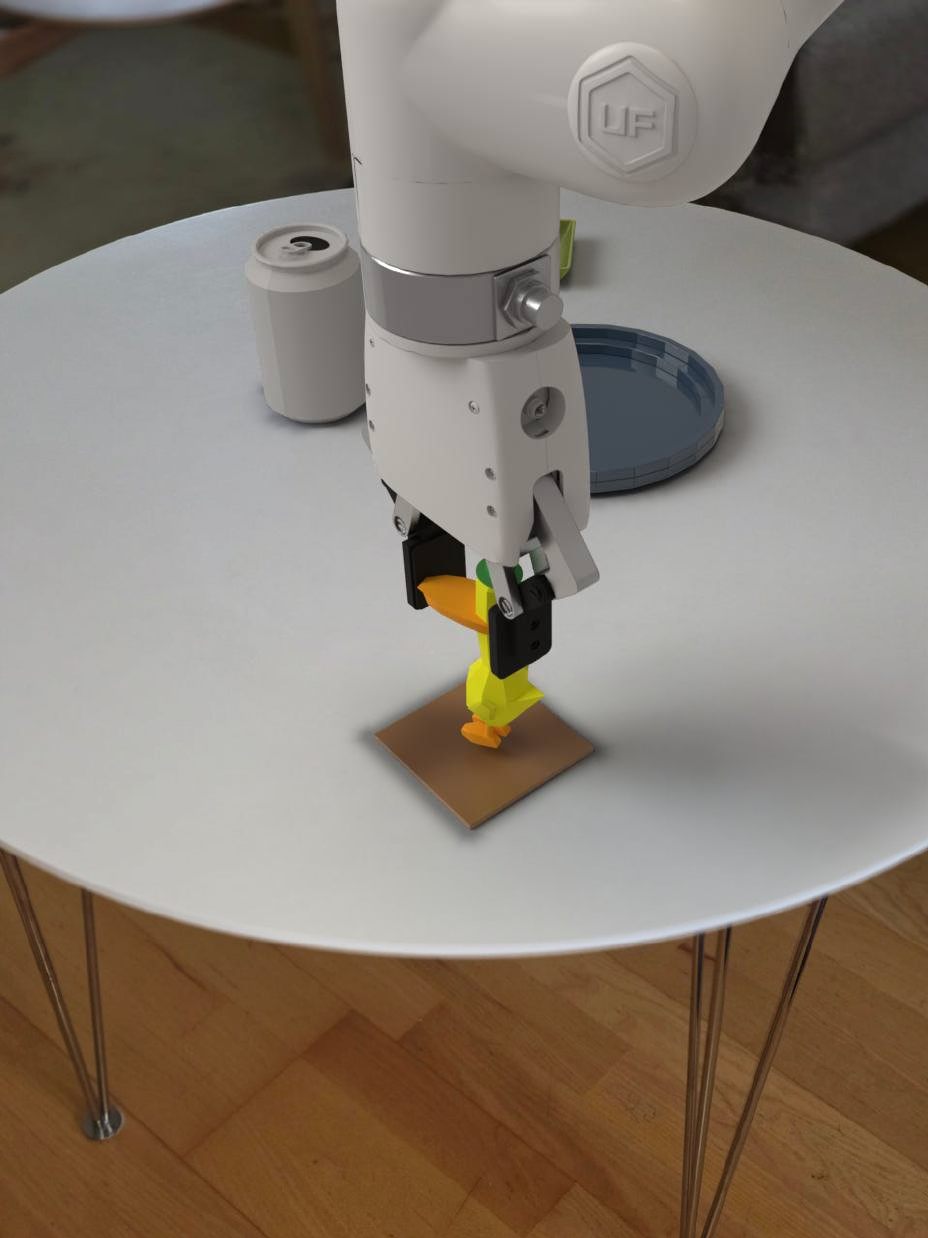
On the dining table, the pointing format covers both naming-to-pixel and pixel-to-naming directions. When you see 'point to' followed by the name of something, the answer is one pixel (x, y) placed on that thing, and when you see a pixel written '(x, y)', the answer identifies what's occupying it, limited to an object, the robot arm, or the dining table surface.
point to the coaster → (480, 755)
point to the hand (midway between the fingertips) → (478, 625)
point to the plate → (644, 405)
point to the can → (308, 321)
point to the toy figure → (482, 655)
